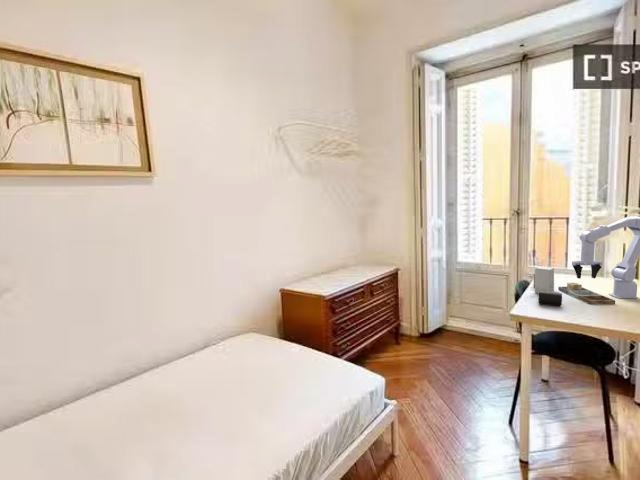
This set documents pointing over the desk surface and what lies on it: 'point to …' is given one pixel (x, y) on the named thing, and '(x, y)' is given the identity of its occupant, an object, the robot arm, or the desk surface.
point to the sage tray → (582, 293)
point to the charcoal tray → (563, 289)
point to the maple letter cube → (574, 286)
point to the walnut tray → (597, 300)
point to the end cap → (550, 298)
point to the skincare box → (544, 279)
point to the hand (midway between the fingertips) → (586, 278)
